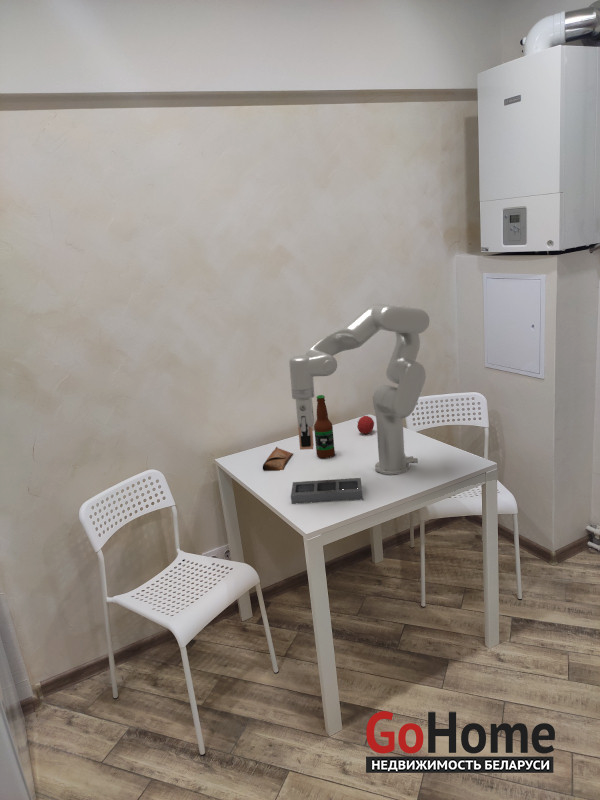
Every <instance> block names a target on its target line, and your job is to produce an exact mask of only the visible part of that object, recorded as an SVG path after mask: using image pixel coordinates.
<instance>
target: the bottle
mask: <svg viewBox="0 0 600 800" xmlns="http://www.w3.org/2000/svg"><path fill="white" fill-rule="evenodd" d="M325 397H326V396H325V395H322V394H319V395H317V396H316V397H315V398H316V420H315V423H314V424H313V429H314V431H313V432H314V439H315V441H314V442H315V452H316V456H317V457H318V458H319V459H324V460H325V459H330V457H331V458H332V457H334V456H335V454H336V451H335V442H334V441H335V440H334V438H335V437H334V429H333V428H334V427H333V426H334V425H333V423H332V422H331V420H330V419H329V414H328V413H329V412H328V409H327V405H326V402H325V401H326V399H325Z"/></svg>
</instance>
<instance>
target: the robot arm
mask: <svg viewBox="0 0 600 800" xmlns="http://www.w3.org/2000/svg"><path fill="white" fill-rule="evenodd" d="M429 325H430V316H429V314H428V312H426V311H425V310H424V309H421V308H414V307H411V306H404V305H403V306H398V305H397V306H395V305H390V304H385V303H384V304H383V303H373V304H371V305H369V306H368V307H367V308H366V309H365V310H364V311H362V312H361V313H360V314H359V315H358V316H356V317H355V318H354V319H353V320H352V321H350V322H349V323H348V324H347V325H346V326H344V327H343V328H341V329H339V330H337V331H334V332H333V333H331V334H329V335H326V336H325V337H323V338H322V339H320V340H319V341H318V342H316V343H315V344H313V346H312V347H311V348H310V349H309V350H308V351H307V352H306V353H305V354H304V355H303V354H302V355H301V354H299V355H294V356H292V357H291V358H290V359H289V373H290V385H291V398H292V399H293V400H295V407H296V408H295V410H296V419H297V428H298V427H299V428H300V427H301V446H302V447H310V446H311V439H310V435H309V427H312V428H314V424H315V423H314V422H315V418H314V417H315V416H314V406H313V398H314V397H315V387H314V386H315V385H314V377H328V376H331V375H332V374H334V373H335V372H336V370H337V368H338V361H337V359H336V358H335V356H336V355H337V354H339V353H341V352H345V351H351V350H355V349H358V348H360V347H362V346H363V345H364V344H365V343H367V342H368V341H369V340H370V339H372V337H373V336H375V335H376V334H377V333H378V332H379V331H381V330H383V331H388V332H395V338H396V339H395V345H394V349H393V351H392V353H391V356H390V359H389V362H388V364H387V368H386V371H385V373H386V374H385V375H386V377H387V379H388V380H389V381H390V382H392V383H394V384H396V385H397V387H396V386H392V385H389V384H383V385H380V386H378V387H377V388H376V389H375V391H373V395H372V406H373V410H374V415H375V421H376V422H375V423H376V433H377V434H376V437H377V451H378V453H377V454H378V462H376V463H375V465H374V468H375V471H376V472H378V473H380V474H383V475H398V474H403V473H406V472H407V471H408V470H410V464H418V462H419V460H418V457H414V456H407V455H406V454H405V437H404V435H405V434H404V421H403V419H406V418H408V417H409V416H411V414H412V413H413V412H414V410H415V408H416V406H417V403H418V401H419V398H420V396H421V393H422V390H423V387H424V385H425V381H426V377H427V374H426V369H425V367H424V365H423V364H421V363H420V362H418V361H416V360H417V357H418V353H419V350H420V347H421V345H420V344H421V341H420V334H422V333H423V332H426V330H427V329H428V328H429ZM306 425H308V426H307V427H306ZM306 429H307V430H306Z"/></svg>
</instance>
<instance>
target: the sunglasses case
mask: <svg viewBox="0 0 600 800" xmlns="http://www.w3.org/2000/svg"><path fill="white" fill-rule="evenodd" d="M293 454H294V453H293V452H289V451H288V450H284V449H283V448H279V447H278V446H276V447H275V449H273V450H272V452H271V453H270V455H269V456H268V457H267V458H266V459H265V461H264V463H263V464H262V470H263V471H264V472H277V471H278V472H279V471H280V470H283V471H284V470H285V467H286V465H287V464H288V463H289V460H290V459H291V458H292V457H293V456H294V455H293ZM292 455H293V456H292ZM291 456H292V457H291ZM280 472H281V471H280Z"/></svg>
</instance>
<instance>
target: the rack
mask: <svg viewBox="0 0 600 800" xmlns="http://www.w3.org/2000/svg"><path fill="white" fill-rule="evenodd" d="M357 488H358V489H357ZM342 489H344V490H342ZM360 499H362V500H363V499H364V498H363V486H362V477H353V478H351V477H350V478H349V477H348V478H337V479H334V478H333V479H323V480H321V479H320V480H305V481H293V482H292V485H291V492H290V500H291V501H290V502H291V504H292V505H293V504H294V505H296V503H298V504H309V503H311V502H312V503H313V504H314V503H328V502H342V501H343V502H346V501H358V500H360ZM312 503H311V504H312Z"/></svg>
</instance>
